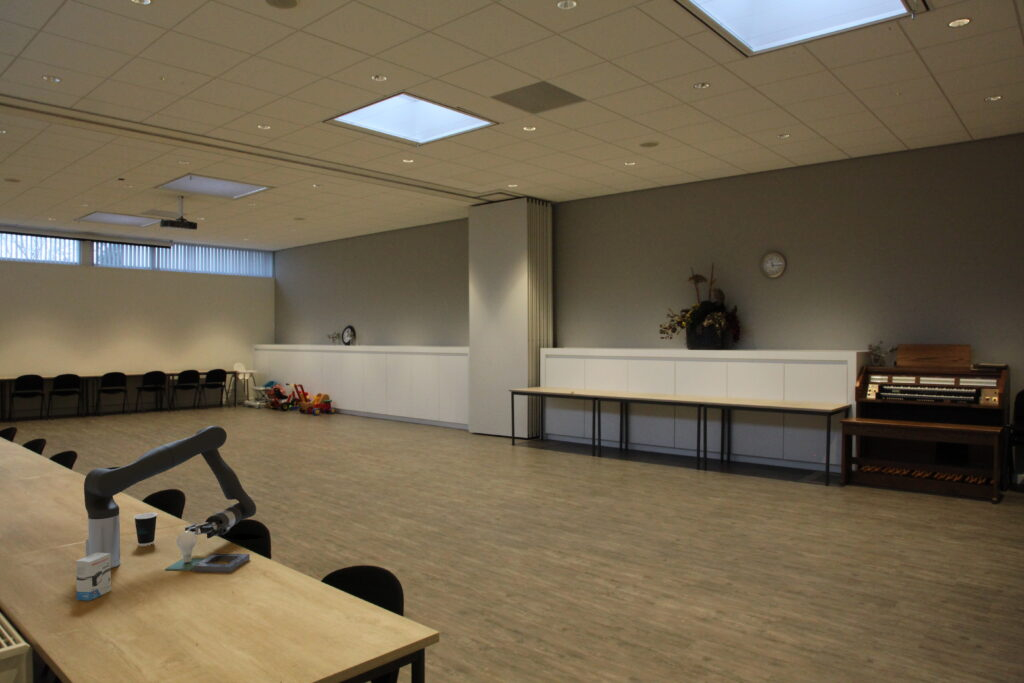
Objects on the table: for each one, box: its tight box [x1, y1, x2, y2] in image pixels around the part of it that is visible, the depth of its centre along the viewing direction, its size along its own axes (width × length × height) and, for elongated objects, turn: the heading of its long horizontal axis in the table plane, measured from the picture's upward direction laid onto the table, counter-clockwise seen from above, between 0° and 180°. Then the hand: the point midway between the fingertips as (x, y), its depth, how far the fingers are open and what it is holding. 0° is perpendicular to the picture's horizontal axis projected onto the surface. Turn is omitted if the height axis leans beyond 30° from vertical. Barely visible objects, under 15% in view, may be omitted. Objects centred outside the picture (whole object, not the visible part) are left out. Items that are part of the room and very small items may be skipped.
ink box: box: [75, 553, 112, 602], centre depth 208 cm, size 8×5×12 cm, turn 168°
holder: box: [192, 552, 250, 574], centre depth 233 cm, size 13×13×2 cm
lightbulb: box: [175, 530, 198, 564], centre depth 235 cm, size 6×6×11 cm
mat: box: [165, 557, 207, 572], centre depth 234 cm, size 9×11×1 cm
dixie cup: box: [133, 512, 158, 547], centre depth 258 cm, size 8×8×11 cm
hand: (196, 535), depth 240 cm, fingers open, 8 cm apart
